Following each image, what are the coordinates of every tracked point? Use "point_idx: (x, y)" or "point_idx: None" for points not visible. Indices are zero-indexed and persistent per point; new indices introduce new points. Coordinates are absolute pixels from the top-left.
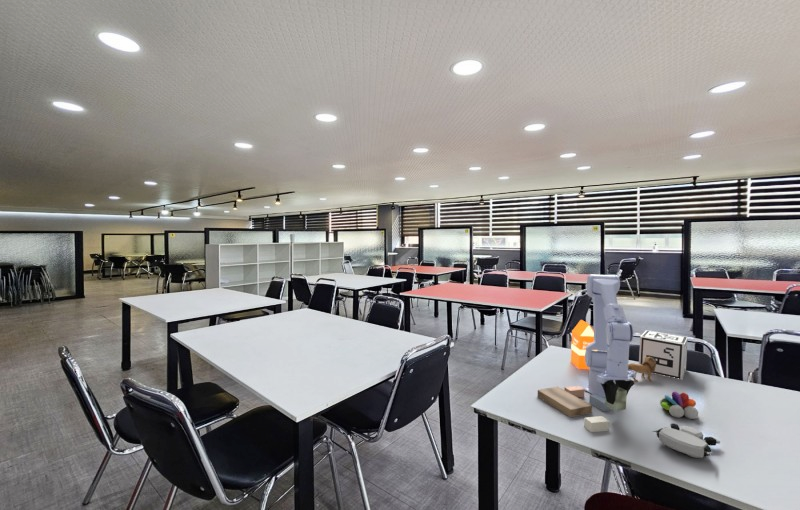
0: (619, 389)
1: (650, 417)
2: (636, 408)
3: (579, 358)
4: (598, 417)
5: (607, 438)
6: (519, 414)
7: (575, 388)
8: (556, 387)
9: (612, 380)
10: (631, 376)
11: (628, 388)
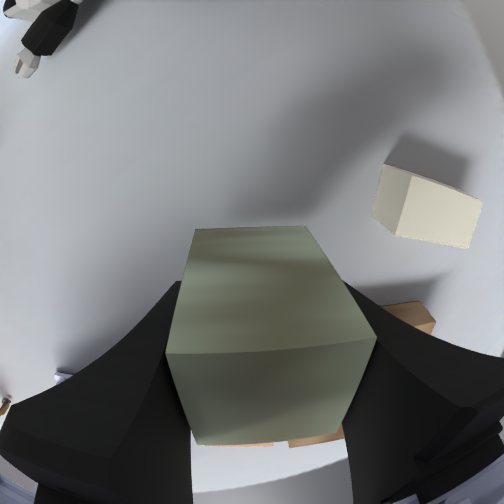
0: (247, 395)
1: (36, 203)
2: (44, 285)
3: None
4: (422, 229)
5: (443, 122)
6: (490, 332)
7: None
8: (299, 444)
9: (446, 491)
10: (2, 486)
11: (120, 377)
